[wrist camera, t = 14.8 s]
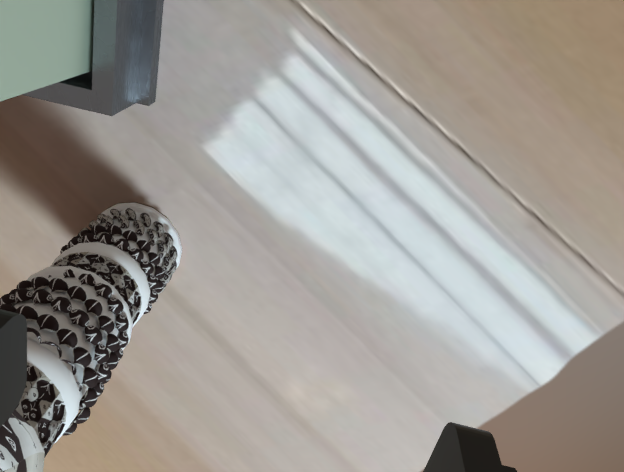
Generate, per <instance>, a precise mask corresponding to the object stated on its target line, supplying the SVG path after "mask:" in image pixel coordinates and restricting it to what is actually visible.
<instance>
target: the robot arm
mask: <svg viewBox="0 0 624 472" xmlns="http://www.w3.org/2000/svg"><path fill="white" fill-rule="evenodd" d="M26 381H27V321H26V318H25V316H24V315H22V314H18V313H14V312H10V311H6V310H2V309H0V428H1V426H2V425H3V424H4V423H5V421H6V420H7V419H8V418H9V417H10V415H11V414H12V413H13V412H14V410H15V409H16V407H17V405H18V404H19V402H20V400H21V398H22V395H23V393H24V390H25V386H26ZM423 472H517V471H516V469H515V468H511V467H508V466H503V465H501V461H500V458H499V454H498V451H497V448H496V444H495V440H494V438H493V436H492V434H491V433H490V432H488V431H484V430H480V429H476V428H472V427H468V426H464V425H460V424H456V423H452V422H450V423H448V424H447V425H446V426H445V427H444V429H443V431H442V433H441V436H440V438H439V440H438V442H437V444H436V446H435V448H434V450H433V452H432V455H431V457H430V459H429V461H428V463H427V465H426V467H425V469H424V471H423Z"/></svg>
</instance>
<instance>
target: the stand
mask: <svg viewBox="0 0 624 472" xmlns="http://www.w3.org/2000/svg"><path fill="white" fill-rule="evenodd" d="M163 1H164V0H95V1H94V34H93V67H92V71H90V72H87V73H84V74H81V75H78V76H75V77H72V78H69V79H66V80H63V81H60V82H57V83H54V84H51V85H48V86H45V87H42V88H39V89H36V90H33V91H30V92H27V93H24V94H21V95H25V96H29V97H33V98H38V99H42V100H46V101H50V102H55V103H59V104H63V105H67V106H71V107H76V108H80V109H84V110H88V111H93V112H97V113H101V114H105V115H109V116H113V115H115V114H116V113H118V112H120V111H122V110H124V109H126V108H128V107H129V106H131V105H133V104H135V103H138V104H142V105H147V106H149V105H151V104H152V103H154V102H155V97H156V85H157V73H158V61H159V49H160V37H161V25H162V13H163Z"/></svg>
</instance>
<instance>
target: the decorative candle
mask: <svg viewBox="0 0 624 472" xmlns="http://www.w3.org/2000/svg"><path fill="white" fill-rule="evenodd" d="M97 218H98V219H97V220H96V221H91V222H90V223H89V227H90V228H91V231H90V230H89V229H88V228H83V229H82V230H81V232H80V233H79V234H78V236H76V237H74V238H73V239H72V240H70V241H69V243H68V245H65V246H63V247H62V249H61V254H60V255H59V256H58V257H57V258H56V259H55V260H54V262H53V263H52V265H51V266H50V267H47V268H45V269H43V270H41V271H39V272H37V273H35V274H33V275H31V276H30V277H29V278H28V279H27V281H22V282H20V283H19V284H18V285H17V289H14V290H12V291H11V292H10V293H9V294H6V295H4V296H2V297H1V298H0V309H2V310H6V311H10V312H14V313H18V314H22V315H24V316H25V318H26V321H27V381H26V386H25V390H24V393H23V395H22V398H21V400H20V402H19V404H18V405H17V407H16V409H15V410H14V412H13V413H12V414H11V415H10V417H9V418H8V419H7V420H6V421H5V423H4V424H3V425H2V426H1V428H0V472H43V467H44V458H45V456H46V455H47V453H48V452H49V450H50V449H51V447H52V446H53V444H54V443H56V442H57V441H58V440H59V438H60V437H61V436H62V435H69V434H71V433H73V432H74V431H75V430H76V428H77V424H80V423H83V422H85V421H86V420H87V419H88V418H89V416H90V409H89V407H92V406H93V405H94V404H95V403H96V401H97V397H98V396H100V395H101V394H102V392H103V390H104V384H105V383H107V382H108V381H109V380H110V378H111V371H110V370H112V369H114V368H115V367H116V366H117V364H118V361H119V360H120V359H121V358H122V356H123V349H124V348H125V347H126V346H127V344H128V343H129V342H130V338H131V332H132V328H133V326H134V325H135V324H136V323H137V321H138V320H139V319H140V318H141V316H142V315H143V314H146V313H148V312H149V311H150V310H151V308H152V304H151V303H154V302H155V301H156V300H157V299H158V294H159V293H161V292H162V291H163V290H164V289H165V287H166V284H167V283H168V282H169V281H170V279H171V277H172V274H173V273H174V272H175V270H176V268H177V267H178V266H179V263H180V258H181V254H182V246H181V242H180V238H179V234H178V232H177V231H176V229H175V228H174V227H173V225H172V224H171V222H170V221H169V219H168V218H166V217H165V216H164V215H162V214H161V213H159V212H158V211H157V210H155V209H154V208H152V207H149V206H145V205H142V204H139V203H135V202H133V203H119V204H116V205H114V206H112V207H110V208H108V209H107V210H105V211H103V212H102V213H101V214H99V215H98V216H97ZM79 410H81V411H80V412H79V414H78V411H79ZM77 414H78V415H77ZM76 415H77V416H76ZM75 417H76V418H75ZM74 418H75V419H74Z"/></svg>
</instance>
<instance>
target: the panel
mask: <svg viewBox="0 0 624 472" xmlns="http://www.w3.org/2000/svg"><path fill="white" fill-rule="evenodd" d="M94 1H95V0H0V101H3V100H6V99H9V98H12V97H15V96H18V95H21V94H24V93H27V92H30V91H33V90H36V89H39V88H42V87H45V86H48V85H51V84H54V83H57V82H60V81H63V80H66V79H69V78H72V77H75V76H78V75H81V74H84V73H87V72H90V71H92V67H93V34H94Z"/></svg>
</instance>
